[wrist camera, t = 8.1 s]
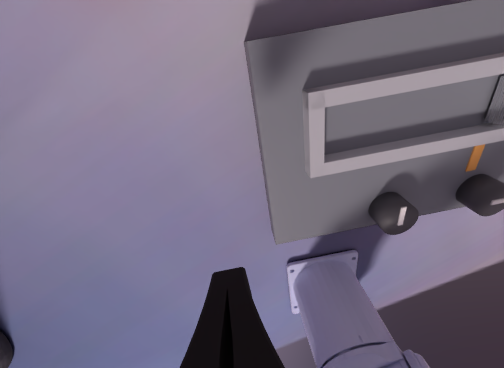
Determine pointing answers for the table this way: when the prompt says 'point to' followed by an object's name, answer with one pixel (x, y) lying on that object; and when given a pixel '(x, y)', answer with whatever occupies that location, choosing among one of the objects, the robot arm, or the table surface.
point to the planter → (5, 351)
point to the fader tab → (497, 105)
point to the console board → (380, 119)
